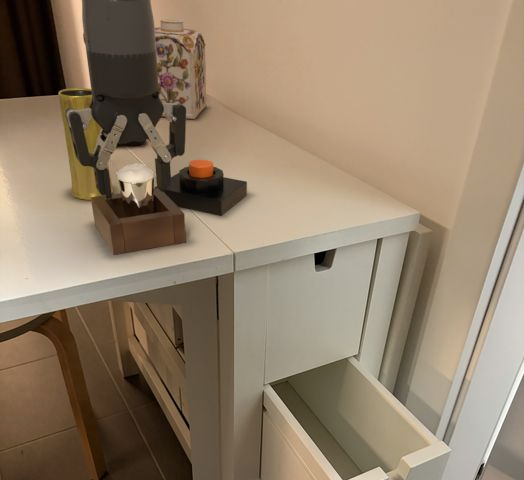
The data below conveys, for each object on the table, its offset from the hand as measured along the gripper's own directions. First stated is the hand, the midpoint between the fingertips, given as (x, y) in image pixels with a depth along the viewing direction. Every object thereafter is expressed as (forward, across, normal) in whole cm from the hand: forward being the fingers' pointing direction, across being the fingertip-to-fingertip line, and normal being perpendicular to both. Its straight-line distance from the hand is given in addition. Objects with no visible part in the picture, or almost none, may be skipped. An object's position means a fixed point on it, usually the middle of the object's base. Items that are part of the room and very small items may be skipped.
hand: (135, 192), depth 70 cm
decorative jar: (+6, +27, +58) cm, 64 cm away
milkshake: (+6, 0, 0) cm, 6 cm away
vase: (+6, -2, +16) cm, 18 cm away
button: (+2, +13, +9) cm, 15 cm away
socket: (+6, 0, 0) cm, 6 cm away
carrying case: (+6, +9, +44) cm, 45 cm away
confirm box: (+6, +12, +8) cm, 16 cm away
